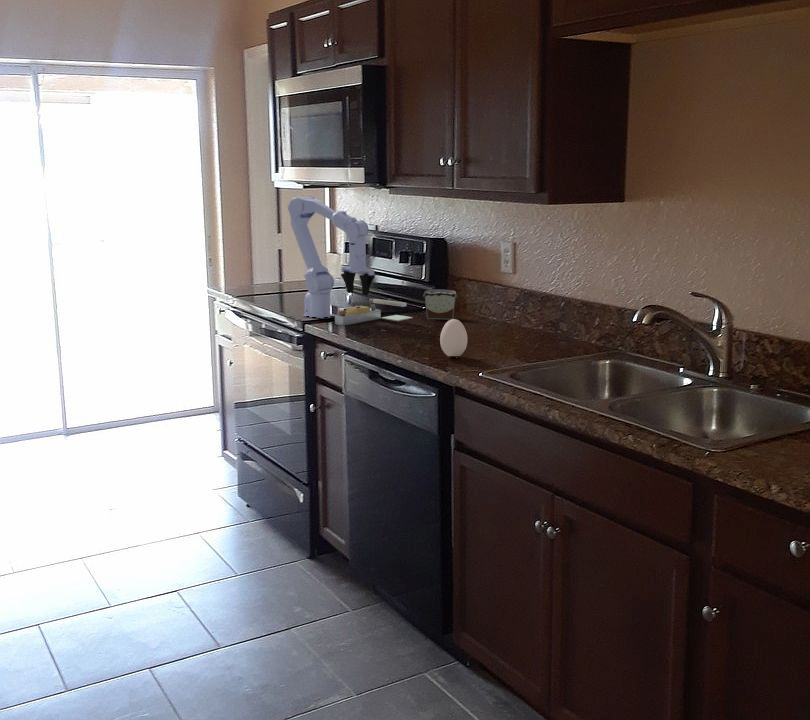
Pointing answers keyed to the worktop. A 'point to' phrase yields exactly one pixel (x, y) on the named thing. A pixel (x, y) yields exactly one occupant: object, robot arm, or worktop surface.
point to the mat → (397, 318)
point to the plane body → (357, 316)
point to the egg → (453, 338)
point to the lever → (387, 302)
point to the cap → (358, 310)
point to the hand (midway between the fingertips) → (357, 293)
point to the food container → (440, 304)
